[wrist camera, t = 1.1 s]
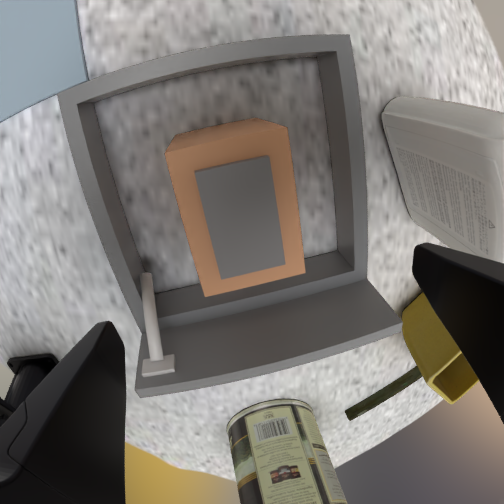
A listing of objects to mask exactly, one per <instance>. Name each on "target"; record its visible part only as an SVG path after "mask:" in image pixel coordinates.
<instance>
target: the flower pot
mask: <svg viewBox="0 0 504 504" xmlns="http://www.w3.org/2000/svg"><path fill="white" fill-rule="evenodd" d="M402 322H403V324H402V332H403V336H404V339H405V342H406V345H407V347H408V349H409V351H410V353H411V355H412V357H413V359H414V361H415V362H416V364H417V366H418V368H419V370H420V372H421V374H422V376H423V378H424V380H425V382H426V384H427V385H428V386H429V387H431V388H432V389H433V390H434V391H435V392H436V393H438V394H439V395H440V396H441V397H442V398H443V399H444V400H446V402H448V403H449V404H453V403H455V402H456V401H457V400H459V399H460V398H461V397H462V396H463V395H464V394H466V393H467V392H468V391H469V390H470V389H471V388H472V387H473V386H474V385H475V384H476V383H477V382H478V381H479V379H478V378H477V376H476V374H475V373H474V371H473V369H472V368H471V366H470V365H469V363H468V361H467V360H466V358H465V357H464V355H463V354H462V352H461V350H460V349H459V347H458V346H457V344H456V343H455V341H454V340H453V338H452V337H451V335H450V334H449V332H448V331H447V329H446V328H445V327H444V325H443V324H442V322H441V321H440V319H439V318H438V316H437V315H436V313H435V312H434V310H433V308H432V307H431V305H430V303H429V301H428V300H427V298H426V296H425V294H424V293H423V292H422V293H421V294H420V295H419V296H418V297H417V298H416V299H415V300H414V301H413V302H412V303H411V304H410V305H409V306H408V307H407V308H406V309H405V310H404V311H403V313H402Z"/></svg>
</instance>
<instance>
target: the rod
mask: <svg viewBox="0 0 504 504" xmlns="http://www.w3.org/2000/svg"><path fill="white" fill-rule="evenodd" d="M421 377H423V376H422V374H421V372H420V370H419V368H418V366H416V367H415V368H413V369H412V370H410V371H409V372H407V373H406V374H404V375H403V376H401V377H400V378H398V379H397V380H395V381H394V382H392V383H391V384H389V385H387V386H386V387H384V388H383V389H381V390H379V391H378V392H376V393H375V394H373V395H371V396H370V397H368V398H366V399H365V400H363V401H361V402H360V403H358V404H356V405H354V406H353V407H351V408H349V409H347V410H345V413H346V415H347V418H348V419H349V420H350V421H351V420H353V419H355V418H356V417H358V416H360V415H362V414H364V413H365V412H367V411H369V410H371V409H372V408H374V407H376V406H377V405H379V404H381V403H382V402H384V401H386V400H387V399H389V398H391V397H392V396H394V395H396V394H397V393H398V392H400V391H402V390H403V389H405V388H406V387H408V386H409V385H411V384H412V383H414V382H415V381H417V380H418V379H420V378H421Z"/></svg>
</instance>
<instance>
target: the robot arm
mask: <svg viewBox="0 0 504 504" xmlns="http://www.w3.org/2000/svg"><path fill="white" fill-rule="evenodd" d="M412 272H413V275H414V278H415V279H416V281H417V283H418V284H419V286H420V288H421V289H422V291H423V293H424V294H425V296H426V298H427V300H428V301H429V303H430V305H431V307H432V308H433V310H434V312H435V313H436V315H437V316H438V318H439V319H440V321H441V322H442V324H443V325H444V327H445V328H446V329H447V331H448V332H449V334H450V335H451V337H452V338H453V340H454V341H455V343H456V344H457V346H458V347H459V349H460V350H461V352H462V354H463V355H464V357H465V358H466V360H467V361H468V363H469V365H470V366H471V368H472V369H473V371H474V373H475V374H476V376H477V378H478V379H479V381H480V383H481V384H482V386H483V388H484V389H485V391H486V392H487V394H488V396H489V398H490V400H491V401H492V403H493V405H494V407H495V409H496V410H497V412H498V414H499V416H501V417H500V418H501V420H502V422H503V424H504V263H500V262H497V261H494V260H490V259H487V258H483V257H479V256H476V255H472V254H469V253H465V252H461V251H458V250H454V249H450V248H446V247H442V246H439V245H435V244H431V243H423V244H420V245H417V246H416V247H415V249H414V256H413V266H412ZM7 364H8V366H9V367H10V369H11V370H12V371H13V372H14V374H15V375H14V378H13V380H12V383H11V385H10V387H9V390H8V392H7V395H6V398H5V400H3V399H1V397H0V504H126V503H125V467H124V465H125V464H124V462H125V460H124V459H125V458H124V457H125V450H124V449H125V415H126V374H125V348H124V344H123V341H122V340H121V338H120V336H119V334H118V332H117V330H116V328H115V327H114V325H113V323H112V322H110V321H105V322H100V323H97V324H96V325H95V326H94V327H93V328H92V329H91V330H90V331H89V332H88V333H87V334H86V335H85V336H84V337H83V338H82V339H81V340H80V341H79V342H78V343H77V344H76V345H75V346H74V347H73V348H72V350H71V351H70V352H69V353H68V354H67V355H66V356H65V357H64V358H63V359H62V360H61V361H60V362H58V361H57V360H56V358H55V357H54V356H53V355H51V354H45V355H37V356H30V357H21V358H13V359H9V360H8V362H7Z"/></svg>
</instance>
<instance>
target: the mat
mask: <svg viewBox="0 0 504 504" xmlns="http://www.w3.org/2000/svg"><path fill="white" fill-rule="evenodd" d="M87 81H89V80H88V75H87V69H86V64H85V59H84V53H83V47H82V41H81V34H80V28H79V20H78V13H77V4H76V0H0V122H2V121H4V120H6V119H7V118H9V117H11V116H13V115H15V114H17V113H19V112H20V111H22V110H24V109H26V108H28V107H30V106H32V105H34V104H36V103H38V102H40V101H43V100H45V99H47V98H49V97H51V96H53V95H56V94H58V93H60V92H62V91H65V90H67V89H69V88H72V87H74V86H77V85H79V84H82V83H84V82H87Z"/></svg>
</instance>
